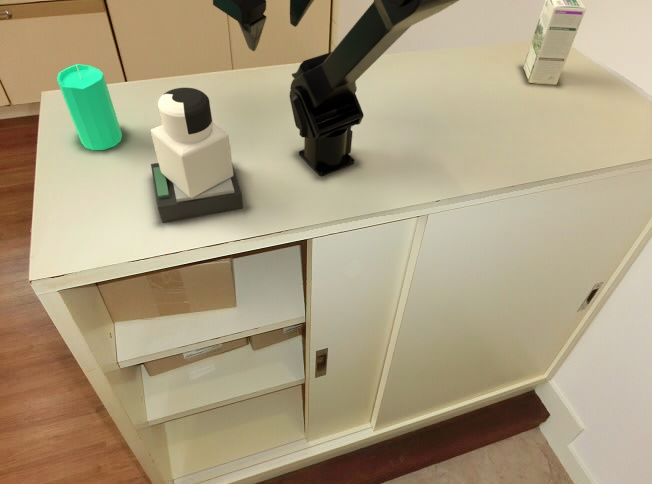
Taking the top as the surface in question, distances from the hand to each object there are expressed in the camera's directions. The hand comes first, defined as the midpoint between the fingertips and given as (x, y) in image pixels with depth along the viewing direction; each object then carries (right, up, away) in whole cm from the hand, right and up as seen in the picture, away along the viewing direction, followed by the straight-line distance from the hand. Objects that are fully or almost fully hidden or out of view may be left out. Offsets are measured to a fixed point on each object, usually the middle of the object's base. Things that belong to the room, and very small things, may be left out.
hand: (273, 36), depth 78 cm
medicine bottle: (-10, -22, -6) cm, 25 cm away
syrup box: (+48, +3, +24) cm, 54 cm away
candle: (-27, -15, +3) cm, 31 cm away
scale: (-10, -24, -4) cm, 26 cm away
